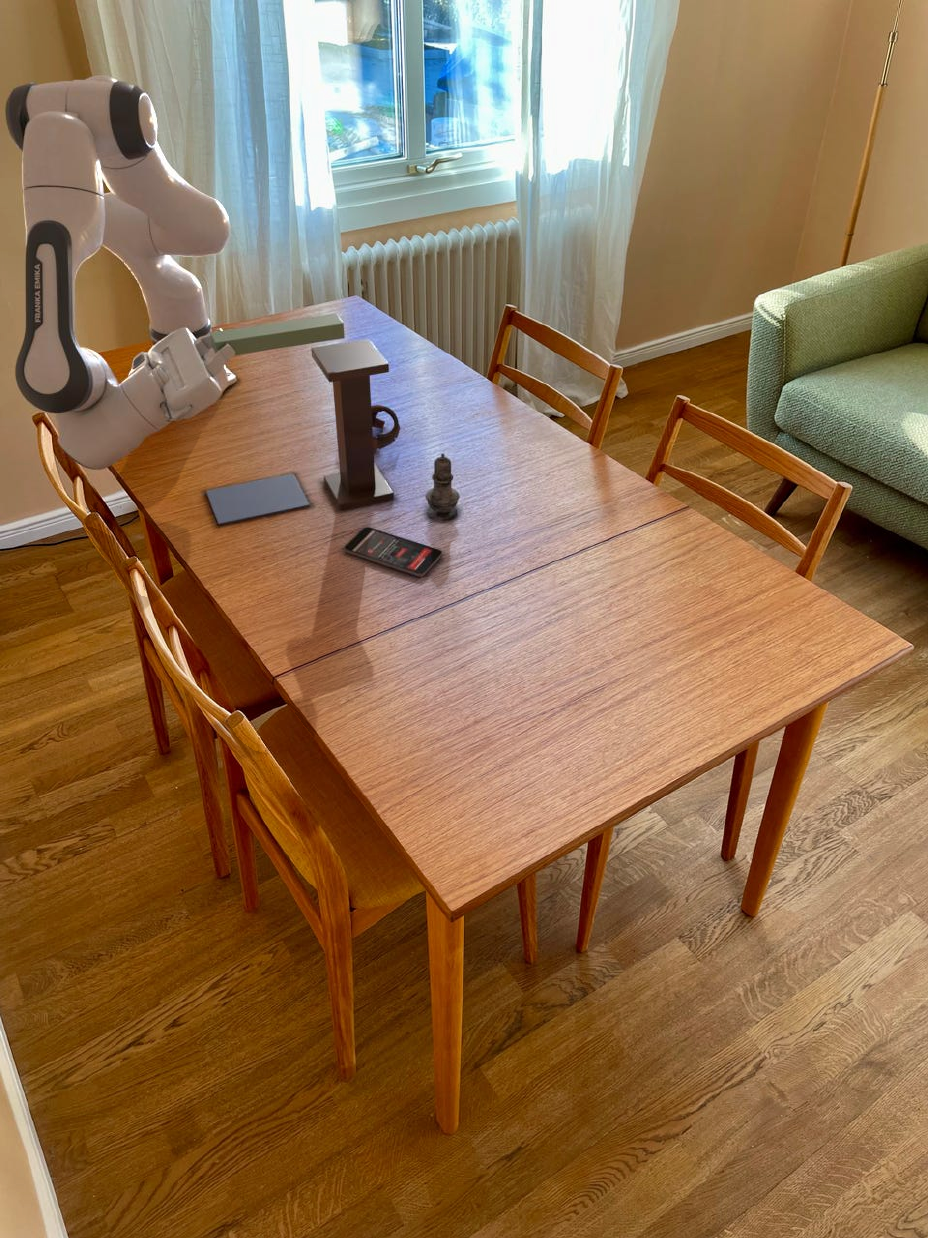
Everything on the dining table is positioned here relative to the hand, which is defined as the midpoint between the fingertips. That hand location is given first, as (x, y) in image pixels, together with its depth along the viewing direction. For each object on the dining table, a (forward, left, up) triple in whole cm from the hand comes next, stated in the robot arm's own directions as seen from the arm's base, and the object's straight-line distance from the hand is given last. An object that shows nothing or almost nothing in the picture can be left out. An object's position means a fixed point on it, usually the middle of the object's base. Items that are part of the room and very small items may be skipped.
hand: (228, 339), depth 143 cm
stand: (0, +19, -32) cm, 37 cm away
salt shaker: (+12, +30, -32) cm, 46 cm away
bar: (0, +8, -2) cm, 8 cm away
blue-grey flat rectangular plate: (-4, +1, -32) cm, 32 cm away
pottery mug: (-16, +26, -32) cm, 44 cm away
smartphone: (+20, +18, -32) cm, 42 cm away
